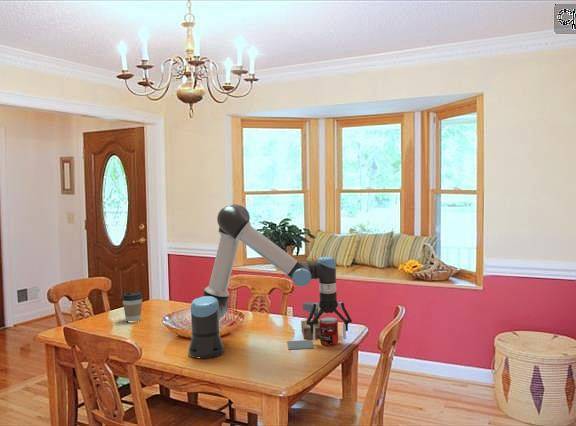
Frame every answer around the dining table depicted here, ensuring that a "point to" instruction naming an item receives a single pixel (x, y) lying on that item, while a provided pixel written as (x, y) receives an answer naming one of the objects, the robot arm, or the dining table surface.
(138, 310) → the coffee cup
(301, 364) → the dining table surface
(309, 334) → the walnut block
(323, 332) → the canned food
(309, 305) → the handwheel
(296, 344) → the rubber mat
